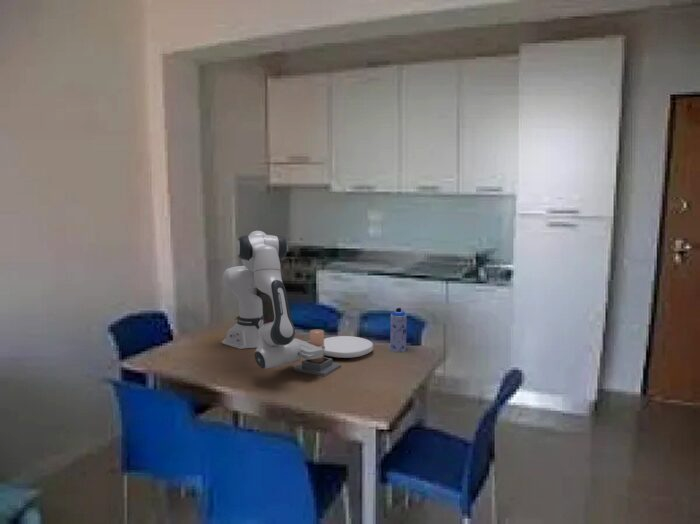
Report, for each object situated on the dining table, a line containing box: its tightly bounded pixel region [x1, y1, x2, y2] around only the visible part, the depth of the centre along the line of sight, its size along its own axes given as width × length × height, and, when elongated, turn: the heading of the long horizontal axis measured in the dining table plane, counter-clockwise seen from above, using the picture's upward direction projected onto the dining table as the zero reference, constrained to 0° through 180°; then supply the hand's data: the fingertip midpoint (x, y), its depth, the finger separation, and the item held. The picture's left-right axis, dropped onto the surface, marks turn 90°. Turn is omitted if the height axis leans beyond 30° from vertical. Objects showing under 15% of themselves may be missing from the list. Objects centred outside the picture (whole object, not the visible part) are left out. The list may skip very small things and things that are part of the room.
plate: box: [324, 335, 374, 359], centre depth 277 cm, size 28×6×27 cm
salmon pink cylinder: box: [309, 328, 325, 364], centre depth 254 cm, size 6×6×14 cm
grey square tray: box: [292, 356, 342, 377], centre depth 255 cm, size 16×13×4 cm
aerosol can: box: [389, 307, 408, 353], centre depth 279 cm, size 8×8×20 cm
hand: (318, 345), depth 254 cm, fingers closed on salmon pink cylinder, 6 cm apart
